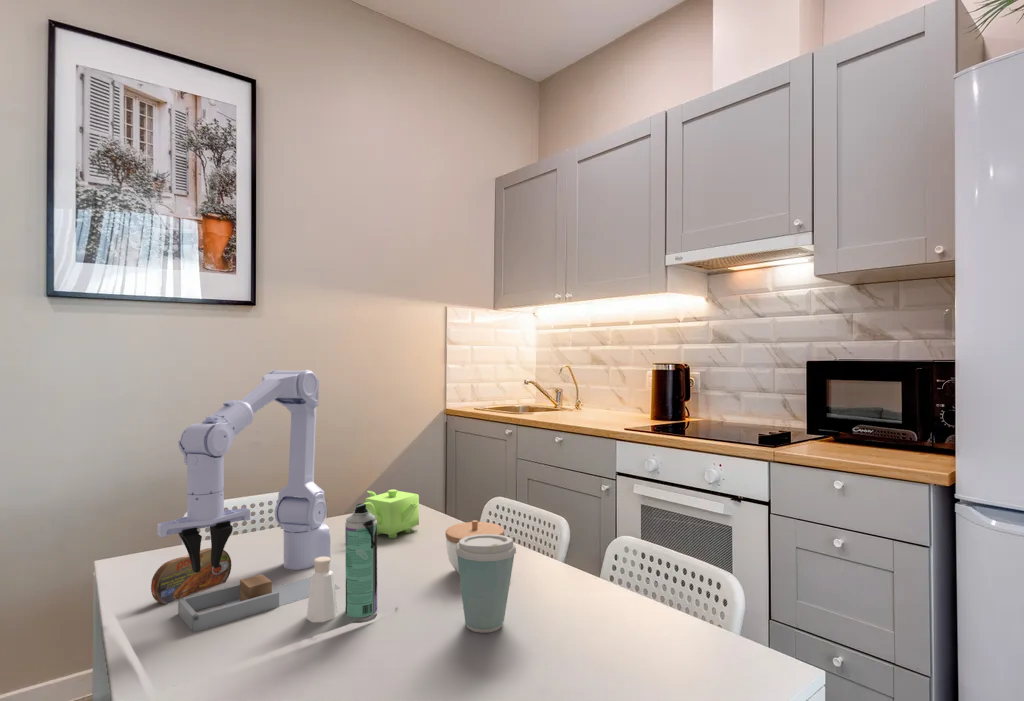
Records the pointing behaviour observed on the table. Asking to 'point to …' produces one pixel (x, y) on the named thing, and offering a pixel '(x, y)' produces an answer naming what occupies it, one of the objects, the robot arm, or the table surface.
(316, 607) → the salt shaker
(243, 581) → the walnut block
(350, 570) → the spray can
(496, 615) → the disposable coffee cup
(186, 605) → the trap channel
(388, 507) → the kettle
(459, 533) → the lidded bowl
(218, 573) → the tin
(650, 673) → the table surface
